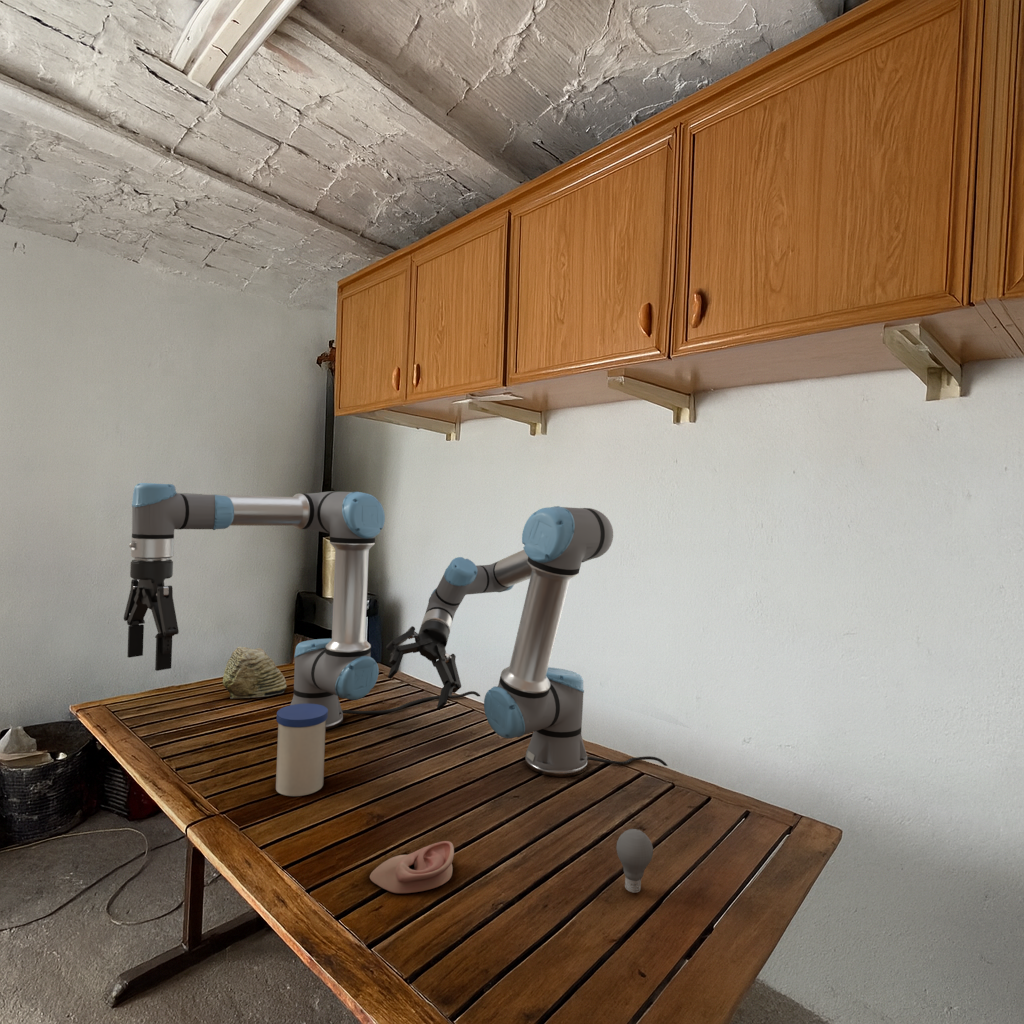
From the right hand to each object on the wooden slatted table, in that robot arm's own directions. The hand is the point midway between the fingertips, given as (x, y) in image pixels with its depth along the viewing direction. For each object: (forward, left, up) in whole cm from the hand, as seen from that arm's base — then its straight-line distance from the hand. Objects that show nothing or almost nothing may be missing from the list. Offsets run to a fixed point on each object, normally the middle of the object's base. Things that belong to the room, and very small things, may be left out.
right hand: (417, 690), depth 142 cm
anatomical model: (+5, +35, -21) cm, 41 cm away
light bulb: (-30, +47, -21) cm, 60 cm away
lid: (+24, -3, -5) cm, 25 cm away
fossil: (+40, -71, -21) cm, 84 cm away
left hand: (+55, -4, +7) cm, 55 cm away
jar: (+24, -4, -21) cm, 32 cm away
